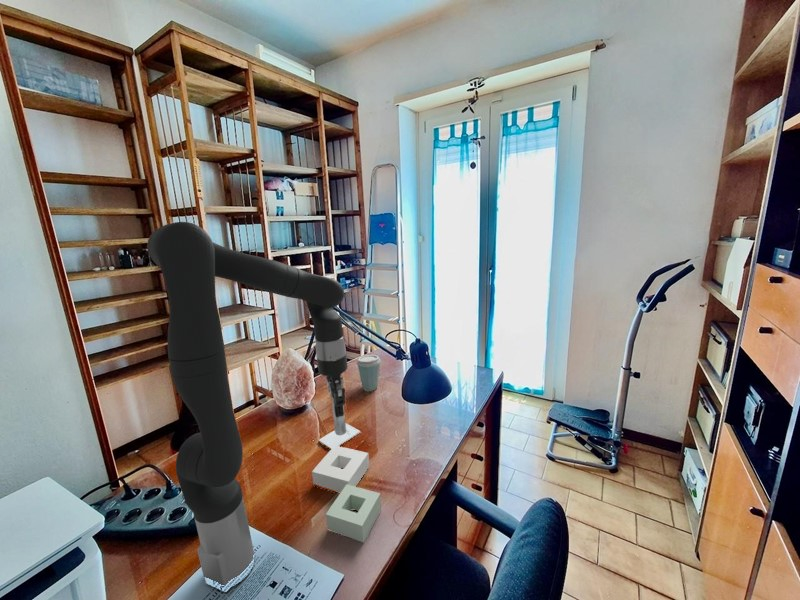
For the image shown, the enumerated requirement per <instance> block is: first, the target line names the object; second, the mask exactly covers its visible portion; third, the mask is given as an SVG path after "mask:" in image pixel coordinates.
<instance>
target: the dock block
mask: <svg viewBox="0 0 800 600" xmlns="http://www.w3.org/2000/svg"><path fill="white" fill-rule="evenodd" d="M369 454H370V453H369V452H365V451H363V450H362V451H361V450H357V449H352V448H348V447H343V446H341V447H340V446H336V445H334V447H333V448H332V449H331V450H328V452H327V454H326V455H325V456H324V457H323V458H322V459H321V461H319V463H318V464H317V465H316V466H315V467H314V469H313V470H312V471H311V473H312V474H311V475H312V476H311V477H312V483H313V485H314V484H316V485H319V486H322V487H326V488H329V489H332V490H335V491H338V492H342V490H343V489H344V487H345V486H346V484H348V485H351V486H355V487H356V485H357V484H358V483H359V481H360V480H361V478H362V477H363V475H364V474H365V475H366V473H367V472H368V470H369V469H370V467H371V465H370V455H369ZM369 466H370V467H369ZM341 468H343V469H341ZM368 468H369V469H368ZM367 469H368V470H367ZM366 471H367V472H366ZM365 472H366V473H365ZM365 475H364V476H365ZM363 478H364V477H363ZM363 478H362V479H363ZM361 481H362V480H361ZM361 481H360V482H361ZM359 484H360V483H359ZM359 484H358V485H359Z"/></svg>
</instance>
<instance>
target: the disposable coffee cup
mask: <svg viewBox="0 0 800 600" xmlns="http://www.w3.org/2000/svg"><path fill="white" fill-rule="evenodd" d="M356 365H357V368H358V373H359V377H360V382H361V385H362V386H361V387H362V389H363V390H364V391H365V392H369V391H370V392H374V391H376V390H377V389H378V387H379V376H380V366H381V359H380V357H379V355H376V354H365V355H363V356H360V357H358V358H357V360H356ZM376 388H377V389H376ZM375 389H376V390H375ZM373 390H374V391H373Z"/></svg>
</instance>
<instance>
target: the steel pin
mask: <svg viewBox="0 0 800 600" xmlns="http://www.w3.org/2000/svg"><path fill="white" fill-rule="evenodd" d="M330 400H331V410H332V416H333V418H332V419H333V425H334V430H335V434H336V435H343V434H345V433H346V424H347V423H346V417H345V414H344V415H343V416H340V417H336V416H335V409H334V404H333V398H332V397H331V396H330ZM343 410H344V411H345V408H344V406H343Z"/></svg>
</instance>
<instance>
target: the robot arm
mask: <svg viewBox="0 0 800 600" xmlns="http://www.w3.org/2000/svg"><path fill="white" fill-rule="evenodd" d="M146 248H147V249H146V250H147V253H148V255H149V257H150V258H151V260H152V261H153V263H154V264H155V265H156V266H158V268H160V269H161V272H162V276H163V279H164V283H165V289H166V292H167V295H168V302H169V318H168V319H169V320H168V328H167V355H168V356H167V357H168V361H169V367H170V375H171V379H172V382H173V386H174V387H175V390H176V392H177V393H178V395H179V396H180V398H181V400H182V401H183V403H184V404H185V405H186V407H187V408H188V410H189V411H190V412H191V414H192V416H193V417H194V419H195V421H196V423H197V426H198V430H199V432H195V433H194V434H192V435H191V436H189V437H188V438H187V439H186V440H185V441H183V443H182V444H181V446H180V448H179V449H178V451H177V455H176V460H175V472H176V478H177V481H178V483H179V487H180V490H181V492H182V496H183V500H184V502H185V504H186V506H187V508H188V509H189V510H190V511H191V512H192V514H193V518H194V521H195V522H194V523H195V526H196V530H197V534H198V539H199V543H200V545H199V546H198V547H197V548H196V550H197V554H198V555H197V556H198V559H199V563H200V567H201V571H202V575H203V578H204V577H206V578H209V579H211V580H213V581H216V582H218V583H219V584H221V585H226V584H227V583H228V581H230V580H231V579H233V578H235V577H237V576H238V575H240V574H241V573H242V572H243V571H244V570H245V569H246V568H247V567H248V566H249V564H250V563H251V561H252V559H253V555H254V554H255V549H254V544H253V540H252V535H251V530H250V526H249V520H248V515H247V511H246V505H245V499H244V495H243V490H242V489H243V488H242V486H241V484H240V482H239V481H238V480H237V479H236V477H237V476H238V474H239V472H240V470H241V467H242V464H243V457H244V452H243V451H244V450H243V442H242V439H241V435H240V431H239V427H238V424H237V420H236V417H235V416H236V415H235V411H234V407H233V401H232V394H231V387H230V383H229V375H228V365H227V355H226V349H225V342H224V336H223V330H222V323H221V317H220V314H219V309H218V305H217V299H216V298H217V296H216V295H217V294H216V278H221V279H225V280H229V281H232V282H236V283H239V284H242V285H244V286H245V285H247V286H249V287H252V288H255V289H258V290H262V291H265V292H267V293H271V294H275V295H279V296H281V297H286V298H290V299H291V298H292V299H296V300H302V301H305V302H306V305H307V306H306V307H307V309H308V312H309V315H310V318H311V320H312V322H313V330H314V331H313V332H314V338H315V354H316V362H317V369H318V374H320V375H321V376H325V381H326V385H327V386H326V387H327V391H328V393H329V397H330V398H331V397H332V398H333V404H334V409H335V416H336V417H340V416H343V415H345V409H344V410H343V407H344V405H346V388H344V378H343V376H342V374H343V373H345V372H346V371H348V359H347V358H348V357H347V351H346V350H347V349H346V342H345V337H344V331H343V323H342V317H341V316H340V315H339V314H338V313H337V312H336V311H335V310H334V307H335V308H336V307H337V306H339V305H340V304H341V303H342V302H343V300H344V298H345V290H344V287H343V286H342V284H341V283H340V282H339V281H338V280H336V279H334V278H330V277H327V276H323V275H318V274H315V273H310V272H308V271H305V270H303V269H300V268H298V267H296V266H292V265H289V264H287V263H283V262H280V261H277V260H274V259H270V258H265V257H261V256H257V255H253V254H247V253H245V252H242V251H237V250H233V249H231V248H228V247H226V246H223V245H221V244H218V243H216V242H213V240H212V238H211V236H210V235H209V233H208V232H207V231H206V230H205V229H204V228H202V227H200V226H199V225H198V224H195V223H192V222H189V221H188V222H187V221H177V222H172V223H168V224H164V225H161V227H158V228H156V229H155V230H154V231H153V232H152V233H151V234H150V236H149V237H148V240H147V245H146Z"/></svg>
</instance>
